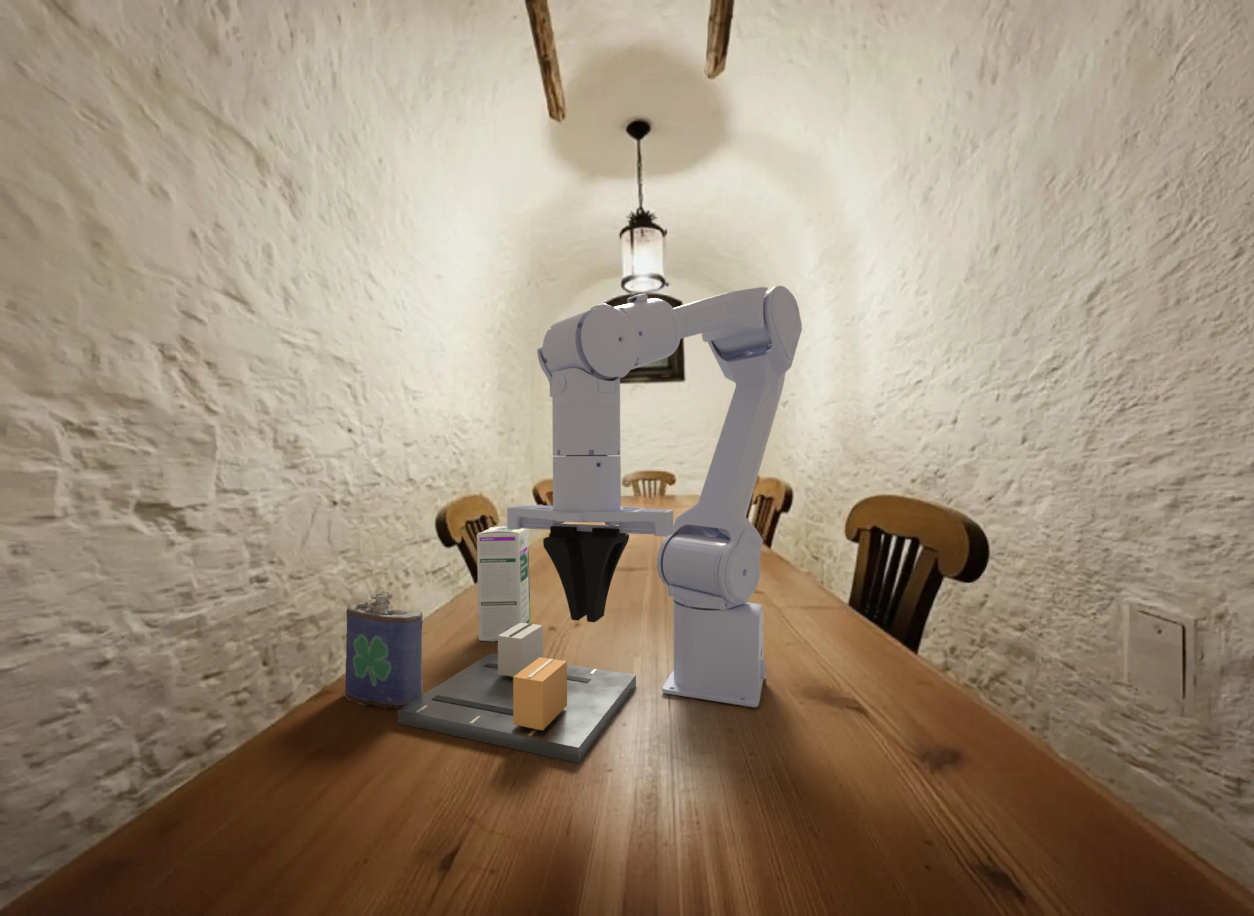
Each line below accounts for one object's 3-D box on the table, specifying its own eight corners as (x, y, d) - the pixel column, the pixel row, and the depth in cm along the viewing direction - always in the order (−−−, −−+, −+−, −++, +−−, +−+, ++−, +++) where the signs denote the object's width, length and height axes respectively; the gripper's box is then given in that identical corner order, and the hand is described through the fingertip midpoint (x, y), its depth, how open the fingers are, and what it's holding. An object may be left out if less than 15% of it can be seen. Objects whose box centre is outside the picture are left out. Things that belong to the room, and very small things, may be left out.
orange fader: (567, 705, 45) (566, 660, 45) (542, 730, 41) (542, 680, 41) (539, 700, 46) (539, 656, 46) (513, 724, 42) (513, 675, 42)
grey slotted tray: (636, 686, 52) (635, 674, 52) (578, 763, 39) (578, 747, 39) (490, 663, 58) (490, 652, 58) (397, 723, 45) (397, 709, 45)
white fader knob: (542, 661, 55) (542, 624, 55) (521, 678, 51) (521, 637, 51) (520, 658, 56) (520, 621, 56) (497, 674, 52) (497, 634, 52)
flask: (428, 701, 49) (427, 593, 49) (405, 716, 46) (404, 600, 46) (360, 686, 52) (359, 585, 52) (335, 699, 50) (334, 592, 50)
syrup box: (521, 642, 65) (520, 531, 65) (476, 642, 65) (476, 531, 65) (530, 627, 71) (530, 525, 71) (489, 627, 71) (489, 525, 71)
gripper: (485, 457, 41) (486, 623, 40) (655, 455, 36) (657, 644, 36) (530, 457, 47) (531, 600, 47) (679, 455, 42) (680, 615, 42)
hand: (587, 617), depth 42 cm, fingers closed
